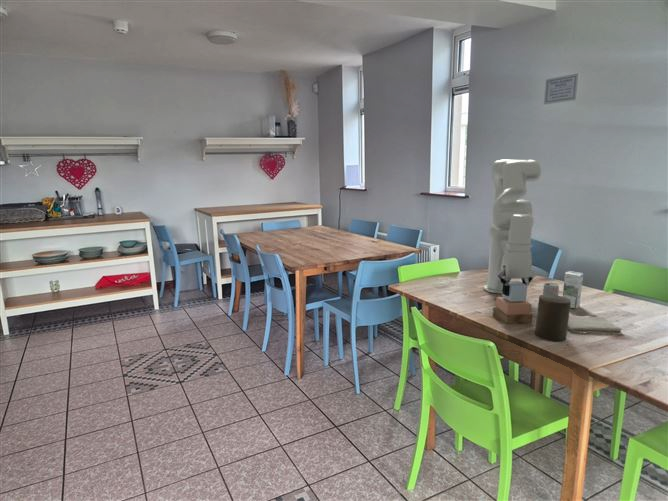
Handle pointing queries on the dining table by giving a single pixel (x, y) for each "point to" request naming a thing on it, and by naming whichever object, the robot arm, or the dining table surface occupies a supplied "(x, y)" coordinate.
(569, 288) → the syrup box
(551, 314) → the pillar candle
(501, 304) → the terracotta block
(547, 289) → the energy drink
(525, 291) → the blue-grey cube
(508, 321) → the walnut base block
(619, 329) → the washcloth
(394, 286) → the dining table surface
